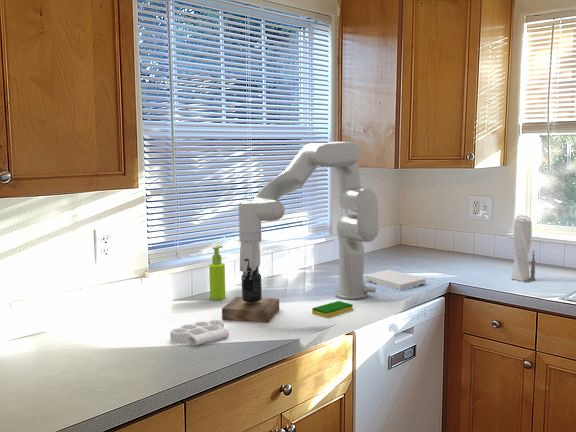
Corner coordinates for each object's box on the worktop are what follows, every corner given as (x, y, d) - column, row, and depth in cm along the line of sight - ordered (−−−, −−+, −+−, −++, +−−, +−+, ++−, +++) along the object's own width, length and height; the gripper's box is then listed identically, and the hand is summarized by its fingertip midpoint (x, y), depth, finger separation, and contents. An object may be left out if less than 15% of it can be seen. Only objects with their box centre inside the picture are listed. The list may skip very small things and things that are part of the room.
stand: (279, 309, 214) (279, 298, 214) (268, 322, 199) (268, 311, 198) (236, 307, 218) (236, 296, 217) (222, 320, 202) (221, 308, 202)
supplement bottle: (263, 297, 210) (263, 264, 209) (259, 303, 204) (258, 268, 202) (245, 297, 212) (244, 263, 210) (239, 302, 205) (238, 267, 203)
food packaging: (425, 286, 249) (389, 277, 265) (425, 278, 249) (389, 269, 264) (400, 292, 240) (365, 282, 256) (401, 284, 240) (365, 275, 255)
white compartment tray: (186, 350, 174) (162, 338, 185) (238, 337, 185) (212, 326, 196) (186, 339, 173) (162, 327, 185) (237, 327, 185) (212, 316, 196)
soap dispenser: (229, 296, 234) (227, 245, 231) (221, 300, 227) (220, 248, 225) (215, 294, 236) (214, 244, 233) (207, 299, 229) (206, 247, 227)
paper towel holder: (525, 283, 250) (528, 216, 246) (507, 280, 256) (509, 214, 252) (535, 280, 255) (538, 214, 252) (517, 276, 261) (519, 213, 258)
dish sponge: (311, 314, 209) (311, 307, 209) (338, 307, 218) (338, 300, 218) (326, 319, 204) (326, 312, 203) (353, 311, 213) (353, 304, 213)
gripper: (247, 233, 214) (248, 282, 216) (232, 241, 197) (233, 294, 199) (267, 233, 212) (268, 282, 215) (254, 241, 196) (255, 295, 198)
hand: (251, 287), depth 207 cm, fingers closed on supplement bottle, 6 cm apart
